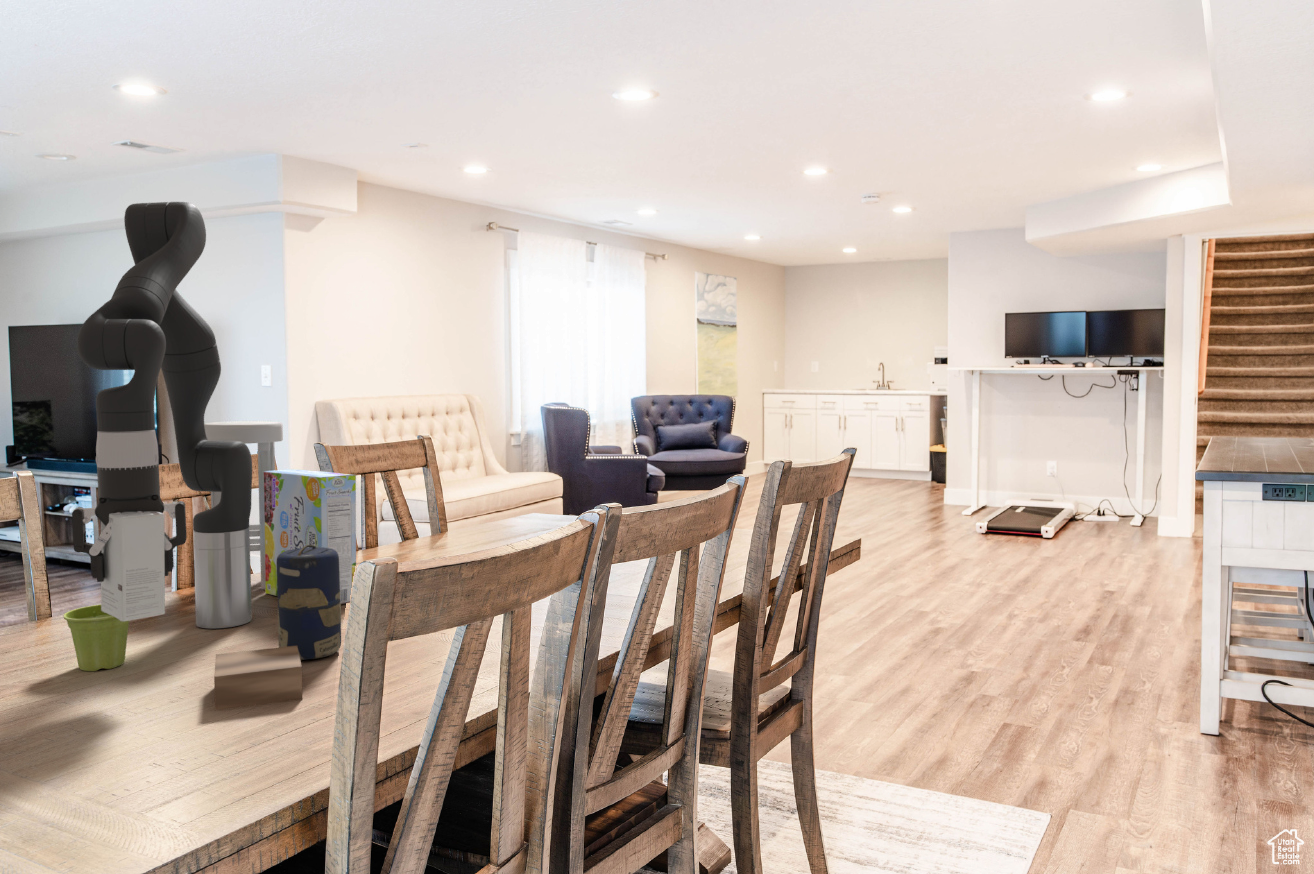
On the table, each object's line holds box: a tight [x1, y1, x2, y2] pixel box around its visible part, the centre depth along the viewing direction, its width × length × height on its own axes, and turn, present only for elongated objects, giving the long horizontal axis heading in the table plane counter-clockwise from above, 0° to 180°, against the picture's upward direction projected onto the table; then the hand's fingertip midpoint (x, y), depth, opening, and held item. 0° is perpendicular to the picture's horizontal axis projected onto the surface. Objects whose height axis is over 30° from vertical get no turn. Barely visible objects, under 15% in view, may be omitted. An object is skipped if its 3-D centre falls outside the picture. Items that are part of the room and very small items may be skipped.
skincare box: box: [100, 511, 166, 622], centre depth 131 cm, size 8×6×15 cm
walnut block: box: [213, 646, 303, 712], centre depth 132 cm, size 11×11×5 cm
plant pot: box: [63, 604, 130, 672], centre depth 144 cm, size 9×9×9 cm
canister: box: [277, 545, 342, 661], centre depth 149 cm, size 10×10×18 cm
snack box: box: [264, 468, 357, 605], centre depth 188 cm, size 22×9×26 cm, turn 52°
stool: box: [204, 420, 284, 590], centre depth 199 cm, size 16×16×35 cm
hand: (133, 577), depth 131 cm, fingers closed on skincare box, 7 cm apart
